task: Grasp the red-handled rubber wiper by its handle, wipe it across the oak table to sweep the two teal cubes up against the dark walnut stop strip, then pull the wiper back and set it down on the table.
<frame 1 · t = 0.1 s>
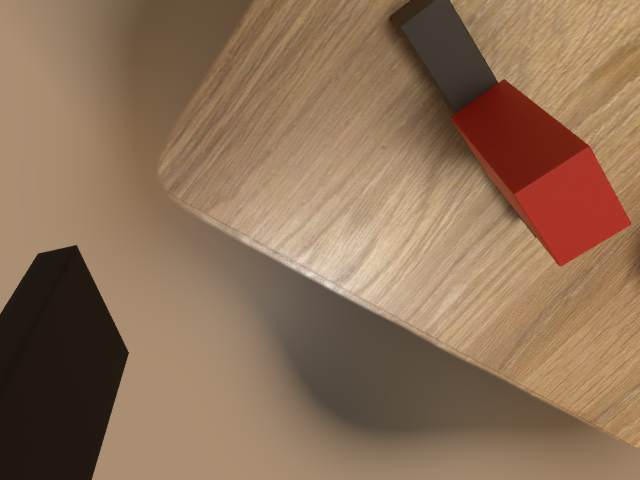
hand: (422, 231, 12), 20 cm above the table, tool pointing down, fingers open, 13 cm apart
wiper: (480, 113, 31), on the table
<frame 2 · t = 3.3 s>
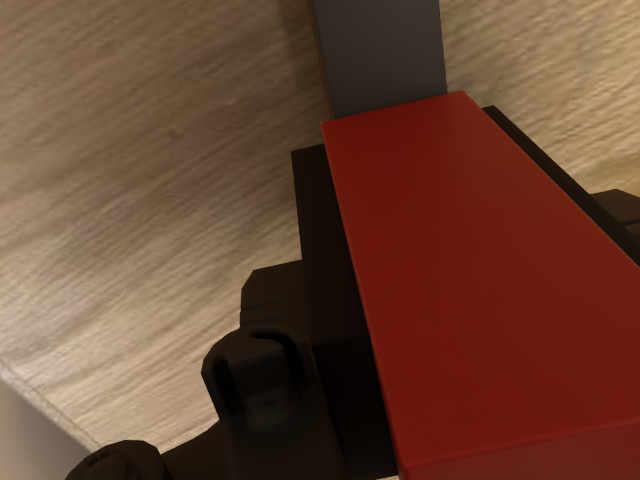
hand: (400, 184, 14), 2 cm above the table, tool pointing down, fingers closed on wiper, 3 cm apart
wiper: (384, 150, 15), on the table, touching gripper
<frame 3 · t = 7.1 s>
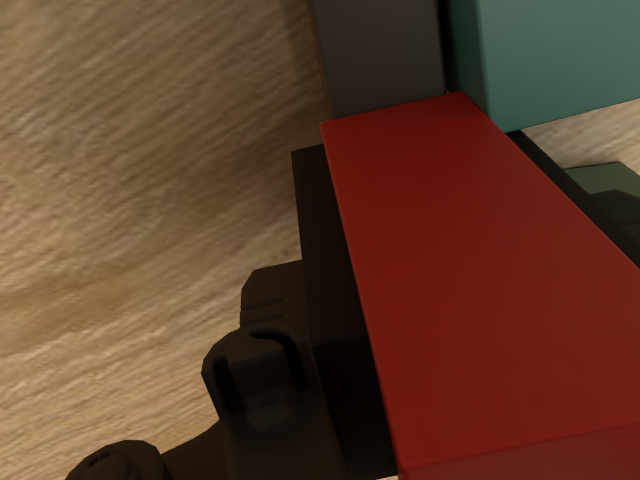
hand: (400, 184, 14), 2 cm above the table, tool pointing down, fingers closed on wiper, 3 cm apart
cube b: (542, 235, 17), on the table, touching gripper
wiper: (384, 151, 15), on the table, touching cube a, gripper
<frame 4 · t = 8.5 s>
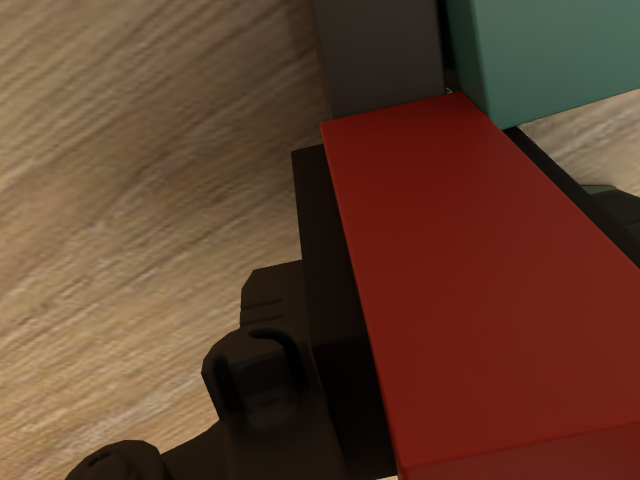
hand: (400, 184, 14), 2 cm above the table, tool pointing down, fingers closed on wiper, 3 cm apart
wiper: (384, 151, 15), on the table, touching cube b, gripper
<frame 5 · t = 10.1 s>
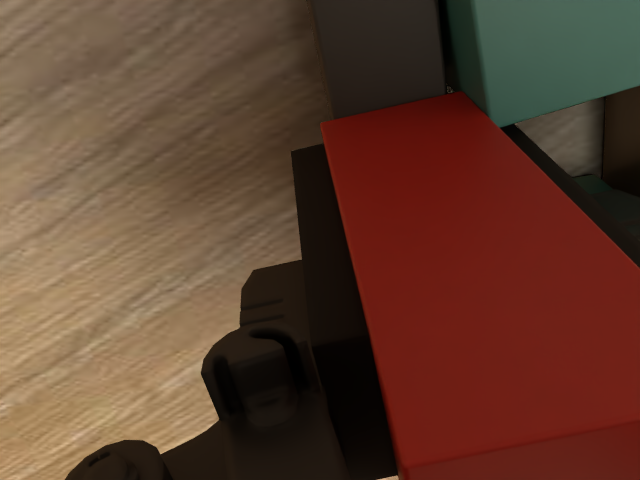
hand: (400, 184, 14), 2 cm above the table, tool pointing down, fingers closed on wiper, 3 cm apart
cube b: (519, 246, 17), on the table, touching wiper
wiper: (384, 151, 15), on the table, touching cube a, cube b, gripper
when the fingers open (2 cm above the table, at t = 12.4 s): wiper stays where it is, on the table.
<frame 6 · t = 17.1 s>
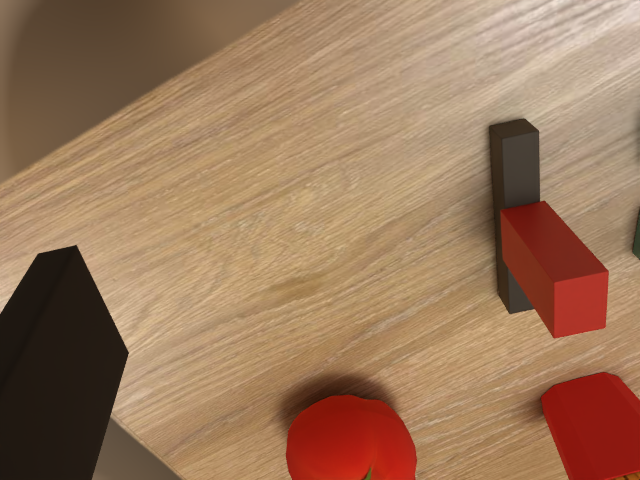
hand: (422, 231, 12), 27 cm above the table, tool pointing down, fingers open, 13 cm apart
tomato: (345, 416, 52), on the table
french fries: (581, 392, 53), on the table
wiper: (510, 214, 43), on the table
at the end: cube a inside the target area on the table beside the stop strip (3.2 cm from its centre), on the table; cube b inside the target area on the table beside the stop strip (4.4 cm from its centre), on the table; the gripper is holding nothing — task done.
